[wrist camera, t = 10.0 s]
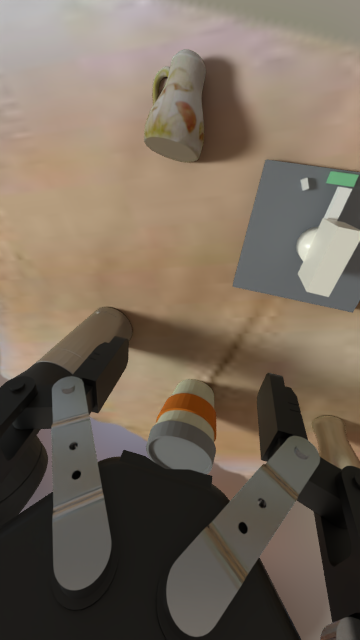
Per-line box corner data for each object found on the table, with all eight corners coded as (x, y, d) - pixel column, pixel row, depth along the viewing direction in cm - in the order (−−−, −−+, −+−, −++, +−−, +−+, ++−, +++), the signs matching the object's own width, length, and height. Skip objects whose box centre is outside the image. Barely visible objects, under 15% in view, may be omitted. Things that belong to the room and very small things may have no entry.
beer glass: (313, 437, 53) (332, 518, 40) (305, 415, 50) (323, 495, 38) (350, 435, 50) (383, 521, 37) (343, 411, 47) (377, 496, 35)
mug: (224, 55, 27) (221, 91, 22) (199, 147, 36) (192, 188, 31) (159, 29, 26) (141, 61, 21) (149, 130, 35) (134, 170, 30)
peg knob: (318, 272, 34) (338, 299, 27) (287, 265, 35) (297, 289, 27) (359, 190, 29) (398, 195, 21) (321, 183, 29) (345, 186, 22)
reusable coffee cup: (158, 391, 58) (132, 451, 45) (188, 363, 51) (168, 424, 38) (199, 420, 59) (186, 485, 47) (234, 396, 52) (229, 465, 40)
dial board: (349, 307, 37) (355, 315, 35) (233, 283, 40) (232, 288, 38) (421, 181, 28) (435, 182, 26) (265, 160, 31) (266, 159, 29)
